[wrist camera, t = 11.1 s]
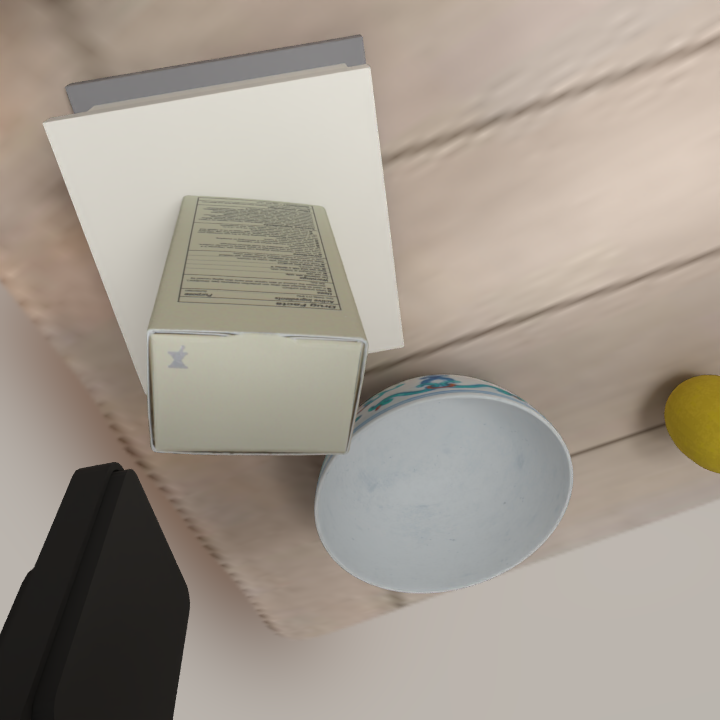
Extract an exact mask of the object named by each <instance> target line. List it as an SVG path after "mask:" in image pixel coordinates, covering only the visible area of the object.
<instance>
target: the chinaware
mask: <svg viewBox="0 0 720 720" xmlns="http://www.w3.org/2000/svg"><path fill="white" fill-rule="evenodd" d="M572 486H573V468H572V462H571V458H570V454H569V451H568V449H567V447H566V445H565V443H564V441H563V439H562V437H561V436H560V434H559V433H558V432H557V430H556V429H555V428H554V427H553V426H552V424H551V423H550V422H549V421H548V420H547V419H546V418H545V417H544V416H543V415H541V414H540V413H539V412H538V411H537V410H536V409H535V408H533V407H532V406H531V405H529V404H528V403H527V402H525V401H524V400H522V399H521V398H520V397H518V396H516V395H515V394H513V393H511V392H510V391H508V390H506V389H504V388H502V387H499V386H497V385H495V384H492V383H490V382H487V381H484V380H481V379H477V378H473V377H468V376H461V375H449V374H439V375H428V376H421V377H416V378H412V379H409V380H405V381H403V382H400V383H397V384H395V385H392V386H390V387H388V388H386V389H384V390H383V391H381V392H379V393H377V394H376V395H374V396H373V397H371V398H370V399H369V400H367V401H366V402H365V403H364V404H362V405H361V406H360V407H359V408H358V410H357V416H356V420H355V425H354V430H353V434H352V439H351V444H350V450H349V452H348V453H347V454H345V455H326V457H325V459H324V462H323V465H322V468H321V471H320V475H319V479H318V483H317V488H316V494H315V503H314V515H315V523H316V528H317V531H318V534H319V537H320V540H321V542H322V544H323V546H324V547H325V549H326V551H327V552H328V553H329V555H330V556H331V557H332V558H333V560H334V561H335V562H336V563H337V564H338V565H339V566H341V567H342V568H343V569H344V570H345V571H347V572H348V573H350V574H351V575H353V576H354V577H356V578H358V579H360V580H362V581H364V582H366V583H368V584H371V585H374V586H377V587H380V588H383V589H387V590H392V591H397V592H405V593H439V592H447V591H453V590H458V589H462V588H466V587H470V586H473V585H476V584H479V583H482V582H485V581H487V580H489V579H492V578H494V577H496V576H498V575H500V574H502V573H504V572H506V571H508V570H510V569H511V568H513V567H515V566H516V565H518V564H519V563H521V562H522V561H524V560H525V559H526V558H528V557H529V556H530V555H531V554H532V553H534V552H535V551H536V550H537V549H538V548H539V547H540V546H541V545H542V544H543V543H544V542H545V541H546V540H547V539H548V538H549V536H550V535H551V534H552V533H553V531H554V530H555V528H556V527H557V526H558V524H559V522H560V521H561V519H562V517H563V515H564V513H565V511H566V509H567V506H568V503H569V500H570V497H571V492H572Z"/></svg>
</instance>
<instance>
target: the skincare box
mask: <svg viewBox="0 0 720 720" xmlns="http://www.w3.org/2000/svg"><path fill="white" fill-rule="evenodd" d="M146 342H147V355H146V362H147V403H148V422H149V432H150V445H151V449H152V450H153V451H154V452H158V453H174V454H195V455H196V454H201V455H345V454H347V453H348V452H349V450H350V444H351V439H352V434H353V430H354V425H355V420H356V416H357V410H358V406H359V401H360V394H361V389H362V384H363V379H364V373H365V367H366V361H367V355H368V348H369V343H368V340H367V338H366V335H365V331H364V328H363V325H362V322H361V319H360V316H359V313H358V309H357V306H356V303H355V300H354V297H353V294H352V291H351V288H350V285H349V282H348V279H347V275H346V272H345V269H344V265H343V262H342V259H341V256H340V253H339V250H338V247H337V244H336V241H335V237H334V234H333V231H332V228H331V225H330V222H329V219H328V216H327V212H326V210H325V208H324V207H322V206H317V205H308V204H300V203H290V202H280V201H269V200H256V199H244V198H228V197H211V196H191V195H187V196H184V197H183V200H182V204H181V207H180V211H179V215H178V218H177V222H176V225H175V229H174V233H173V236H172V240H171V244H170V248H169V251H168V255H167V258H166V262H165V266H164V270H163V274H162V278H161V281H160V285H159V289H158V293H157V296H156V300H155V304H154V307H153V311H152V314H151V318H150V321H149V325H148V329H147V334H146Z"/></svg>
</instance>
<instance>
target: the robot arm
mask: <svg viewBox="0 0 720 720" xmlns="http://www.w3.org/2000/svg"><path fill="white" fill-rule="evenodd" d="M189 610H190V599H189V592H188V588H187V585H186V583H185V580H184V578H183V576H182V574H181V572H180V569H179V567H178V565H177V563H176V561H175V559H174V556H173V554H172V552H171V550H170V547H169V545H168V543H167V541H166V538H165V536H164V534H163V532H162V530H161V528H160V525H159V523H158V521H157V518H156V516H155V514H154V512H153V510H152V508H151V505H150V503H149V501H148V499H147V496H146V494H145V492H144V490H143V488H142V485H141V483H140V481H139V479H138V477H137V475H136V473H135V472H134V471H133V470H132V469H129V470H124V469H123V468H122V466H121V465H120V464H119V463H116V462H112V463H107V464H102V465H96V466H91V467H86V468H81V469H78V470H76V471H75V473H74V474H73V476H72V479H71V481H70V483H69V486H68V488H67V491H66V493H65V495H64V498H63V500H62V502H61V505H60V507H59V510H58V512H57V514H56V517H55V519H54V522H53V524H52V526H51V529H50V531H49V533H48V536H47V538H46V541H45V543H44V546H43V548H42V550H41V552H40V555H39V557H38V560H37V562H36V564H35V567H34V568H33V569H32V570H31V571H30V572H29V573H28V574H27V576H26V577H25V579H24V581H23V582H22V585H21V587H20V589H19V592H18V594H17V596H16V599H15V601H14V604H13V606H12V608H11V610H10V613H9V615H8V618H7V620H6V622H5V624H4V627H3V629H2V631H1V634H0V720H173V714H174V708H175V700H176V694H177V688H178V682H179V675H180V669H181V662H182V656H183V649H184V643H185V636H186V630H187V623H188V617H189Z"/></svg>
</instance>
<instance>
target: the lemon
mask: <svg viewBox="0 0 720 720" xmlns="http://www.w3.org/2000/svg"><path fill="white" fill-rule="evenodd" d="M664 418H665V423H666V428H667V431H668V433H669V435H670V436H671V438H672V440H673V441H674V443H675V445H676V446H677V447H678V448H679V450H680V451H681V452H682V453H684V454H685V455H686V456H687V457H688V458H690V459H691V460H692V461H694V462H695V463H696V464H698V465H699V466H701V467H703V468H705V469H707V470H710V471H713V472H715V473H720V376H717V375H701V376H696V377H692V378H690V379H688V380H686V381H684V382H682V383H681V384H679V385H678V386H677V387H676V388H675V389H674V390H673V391H672V393H671V394H670V396H669V397H668V400H667V402H666V405H665V412H664Z"/></svg>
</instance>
